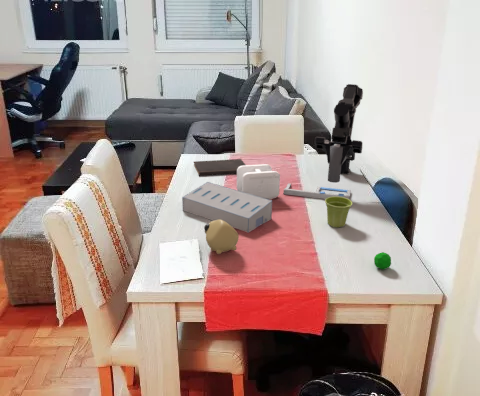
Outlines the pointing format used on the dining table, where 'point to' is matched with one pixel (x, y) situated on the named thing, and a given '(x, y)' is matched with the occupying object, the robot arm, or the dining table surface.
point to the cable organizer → (258, 180)
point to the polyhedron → (382, 260)
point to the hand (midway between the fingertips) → (334, 163)
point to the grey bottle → (335, 163)
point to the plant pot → (337, 210)
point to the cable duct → (317, 193)
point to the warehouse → (228, 206)
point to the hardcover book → (218, 167)
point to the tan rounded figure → (221, 236)
